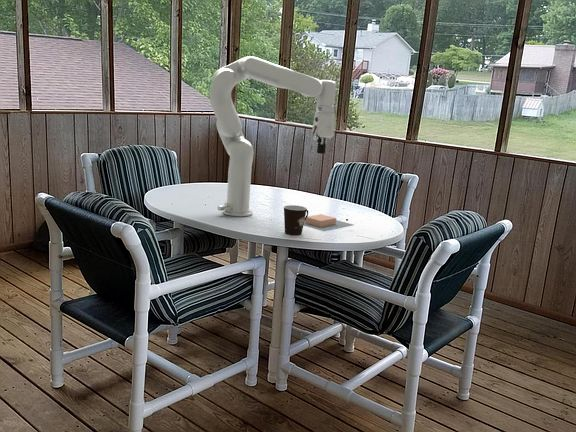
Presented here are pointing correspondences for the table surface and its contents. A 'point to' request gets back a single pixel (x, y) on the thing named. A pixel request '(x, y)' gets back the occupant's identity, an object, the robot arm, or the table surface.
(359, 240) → the table surface
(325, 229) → the mat
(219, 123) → the robot arm
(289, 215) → the coffee mug
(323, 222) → the wooden picture frame
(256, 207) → the table surface
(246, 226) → the table surface
